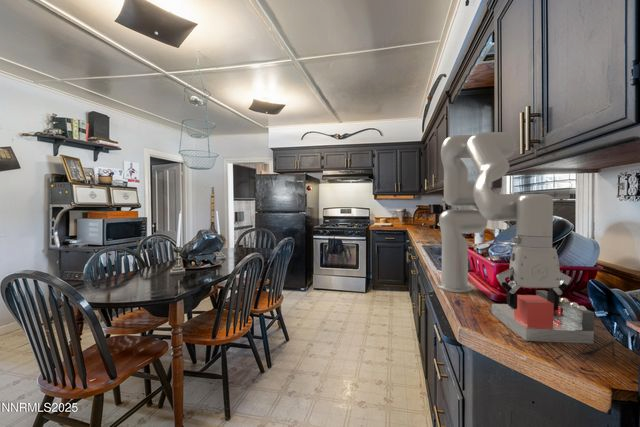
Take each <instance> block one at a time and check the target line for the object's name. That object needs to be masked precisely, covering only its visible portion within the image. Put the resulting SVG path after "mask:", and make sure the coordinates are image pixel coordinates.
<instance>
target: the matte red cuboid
mask: <svg viewBox="0 0 640 427" xmlns="http://www.w3.org/2000/svg"><path fill="white" fill-rule="evenodd" d="M553 313H554V303H552V302H550V301H548V300H546V299H544V298H542V297H540V296H538V295H536V294H534V295H533V294H517V309H514V317H515V318H516V319H518V320H519V321H520V322H522V323H523V324H525V325H526V326H532V327H553Z"/></svg>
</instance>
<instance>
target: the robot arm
mask: <svg viewBox="0 0 640 427" xmlns="http://www.w3.org/2000/svg"><path fill="white" fill-rule="evenodd" d="M516 148H517V141H516V139H515V137H514V136H513V135H512V134H511V133H509V132H506V131H505V132H504V131H503V132H501V131H499V132H498V131H497V132H495V131H492V132H491V131H490V132H489V131H485V132H477V133H475V134H456V135H451V136H448V137H446V138H445V139H444V140H443V142H442V143H441V148H440V158H441V164H442V167H443V200H444V203H445V204H446V205H447V206H451V207H452V206H454V207H469V208H468V209H464V208H462V209H461V208H460V209H459V208H457V209H455V208H454V209H453V208H452V209H446V210H444V211H442V212H441V213H440V214H439V218H438V220H439V221H438V222H439V223H438V224H439V230H440V237H441V281H440V282H438V283H437V288H438V289H440V290H443V291H446V292H450V293H459V294H464V293H470V292H472V291H473V286H471V285H470V284H469V282H468V281H469V266H468V265H469V245H468V242H467V240H466V239H465V237H464V236H463V234H480V233H483V232H484V231H485V230H486V229H487V227H488V221H491V222H502V221H503V222H505V221H506V222H509V221H510V222H515V237H511V238H510V242H511V243H512V244H514V246H513V247H512V251H511V255H510V261H509V267H508V268H509V269H506V270H504V271H502V272H499V273H498V274H496V279H497V281H498V282H499V285H500V286H501V287H502V288H503V289H504V290H505V291H506V304H508V306H510V307H511V308H513V309H517V295H518V294H517V291H518V290H519V289H520V288H523V289H526V288H527V289H548V290H549V291H547V300H548V301H550V302H552V303H554V310H558V306H559V297H560V296H561V295H562V294H563V292H564V291H565V290H566V289H567V288H568V285H569V283H570V282H571V280H572V277H571V276H569V275H567V274H565V273H563V272H561V271H560V269H561V268H560V261H559V256H558V252H557V249H556V248H554V247H553V228H554V227H553V223H554V221H553V218H554V215H553V214H554V199H553V196H551V195H549V194H545V193H544V194H543V193H533V194H532V193H530V194H529V193H528V194H525V193H514V194H513V193H507V194H506V193H494V192H493V190H492V189H491V186H490V183H492V182H495V181H498V180H499V179H501V178H503V177H504V176H505V175H506V174H507V173H508V172H509V171H510V163H509V161H508V159H507V158H510V157H511V156H512V155H513V154H514V153H515V150H516ZM463 159H471V161H472V162H473V165H474V167H475V169H476V171H477V173H478V176H477V178H476V179H475V181H469V170H468V167H467V165H466V164H465V163H464V161H463ZM507 278H508V279H509V282H508V283H507V281H506V279H507Z"/></svg>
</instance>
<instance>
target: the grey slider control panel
mask: <svg viewBox="0 0 640 427" xmlns="http://www.w3.org/2000/svg"><path fill="white" fill-rule="evenodd" d="M547 292H548V291H547V290H544V289H543V290H542V289H540V290H539V289H538V290H537V289H536V290H535V295H538V296H540V297H542V298H544V299H546V300H547ZM491 314H492V315H493V316H494V317H495V318H497V320H500V322H502V323H503V324H504V325H506V326H507V327H508V328H509V329H510V330H511V331H513V332H514V333H515V334H517V335H518V336H520V337H521V338H522V339H523V340H525V341H526V342H542V343H543V342H545V343H546V342H547V343H550V342H551V343H566V344H567V343H571V344H572V343H573V344H594V340H595V338H594V337H595V336H594V334H595V312H594V311H591V310H590V309H587V308H586V306H584V305H579V304H578V303H577V302H572V301H569V299H568V298H566V297H561V296H559V306H558V310H554V313H553V327H532V326H526V325H525V324H523V323H522V322H520V321H519V320H518V319H516V318H515V317H514V309H513V308H511V307H510V306H508V304H507V303H491Z"/></svg>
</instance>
